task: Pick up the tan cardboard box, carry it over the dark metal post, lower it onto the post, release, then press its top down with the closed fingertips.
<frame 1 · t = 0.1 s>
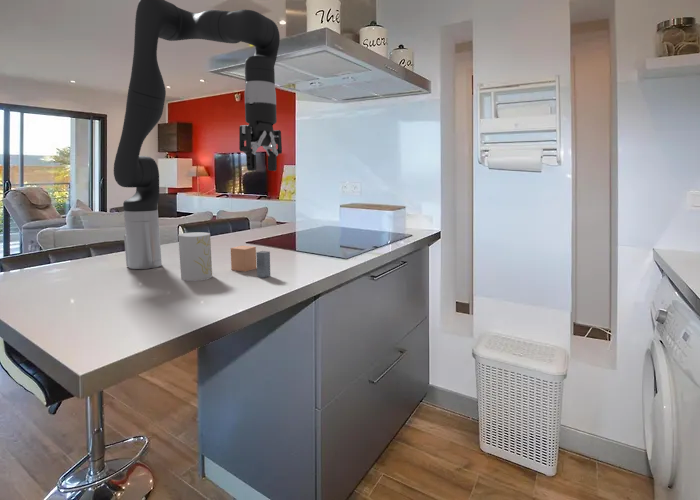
hand: (262, 170, 106), 29 cm above the table, fingers open, 8 cm apart
tan cardboard box: (244, 269, 127), on the table
white round cylinder: (196, 277, 117), on the table
post: (263, 276, 118), on the table
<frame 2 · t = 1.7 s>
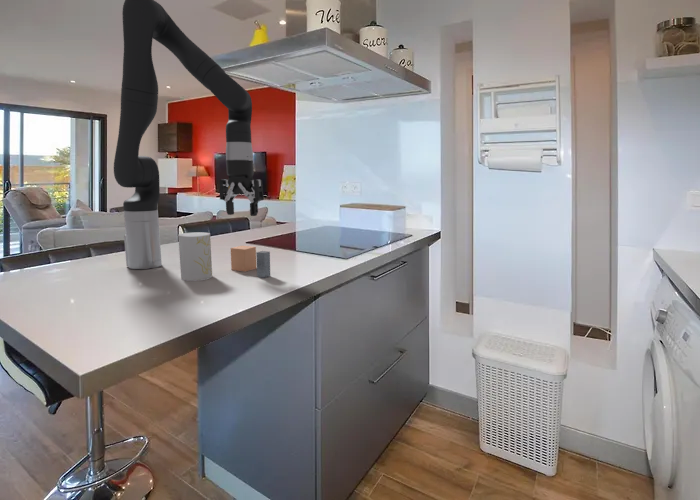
hand: (242, 215, 124), 16 cm above the table, fingers open, 8 cm apart
nothing on the table moved.
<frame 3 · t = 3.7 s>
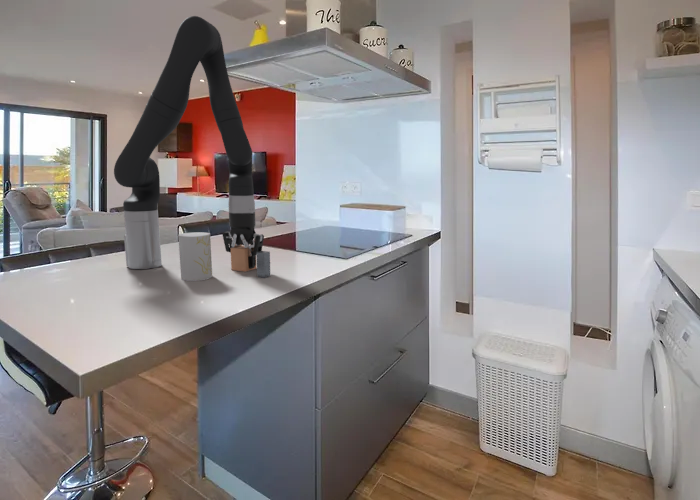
hand: (244, 266, 127), 1 cm above the table, fingers closed on tan cardboard box, 5 cm apart
tan cardboard box: (244, 269, 127), on the table, touching gripper
everything else where it was.
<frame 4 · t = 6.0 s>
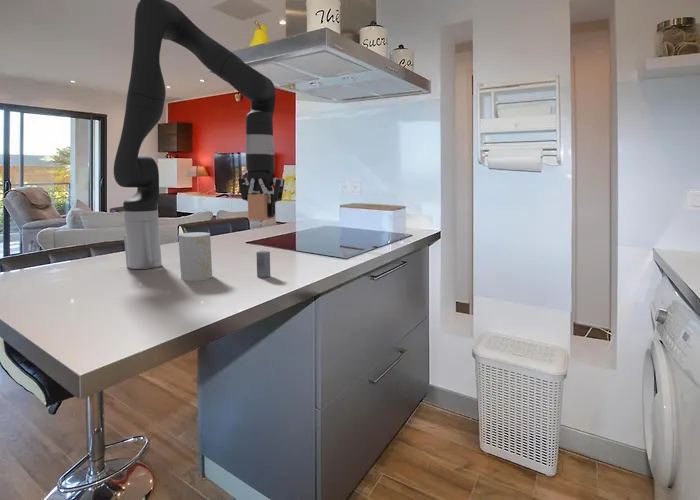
hand: (262, 216, 115), 17 cm above the table, fingers closed on tan cardboard box, 5 cm apart
tan cardboard box: (262, 218, 116), point 16 cm above the table, touching gripper
everything else where it was.
when the fingers open (3 cm above the table, at t = 8.6 s): tan cardboard box drops 1 cm, resting on post.
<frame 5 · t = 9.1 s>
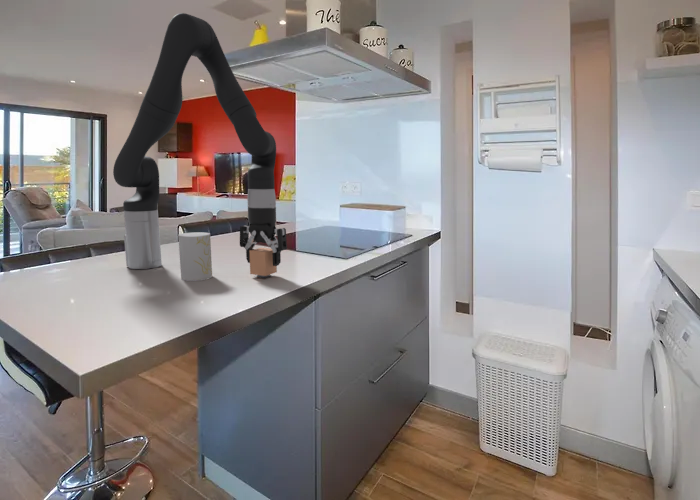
hand: (263, 263, 118), 4 cm above the table, fingers open, 8 cm apart
tan cardboard box: (263, 273, 118), point 1 cm above the table, touching post
everything else where it was.
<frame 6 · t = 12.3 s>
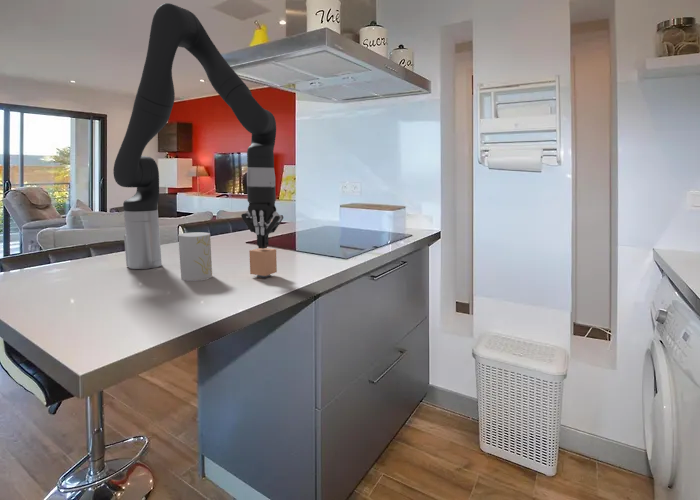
hand: (263, 248, 117), 8 cm above the table, fingers closed
nothing on the table moved.
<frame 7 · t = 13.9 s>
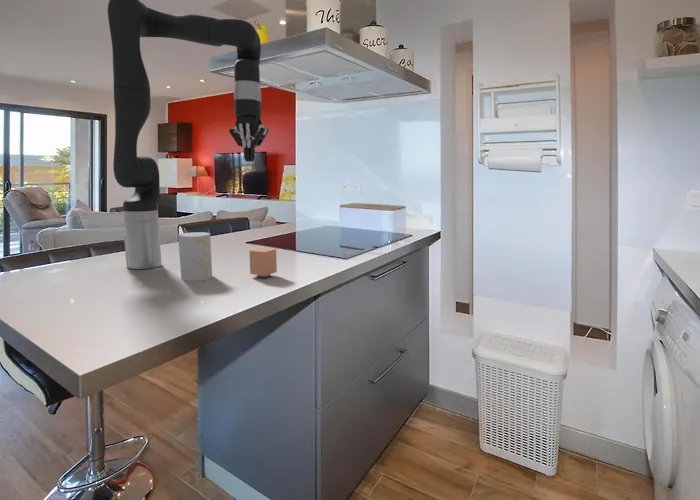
hand: (249, 161, 124), 32 cm above the table, fingers closed
nothing on the table moved.
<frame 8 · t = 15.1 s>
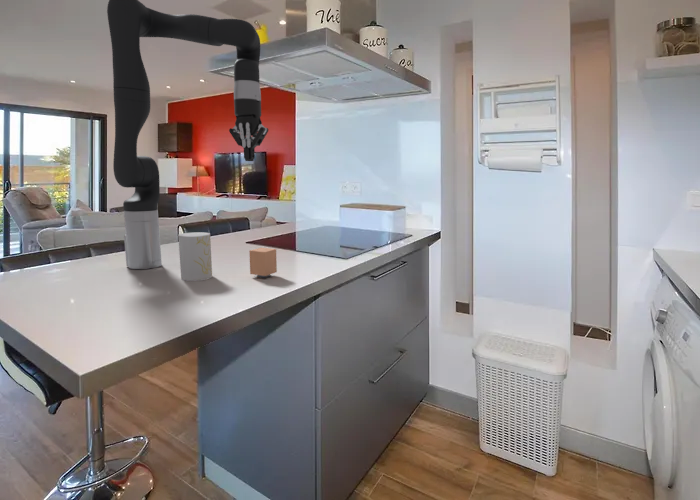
hand: (249, 161, 124), 32 cm above the table, fingers closed
nothing on the table moved.
at the end: tan cardboard box 0.0 cm from the post (horizontally); tan cardboard box point 1.0 cm above the table; the gripper is holding nothing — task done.
